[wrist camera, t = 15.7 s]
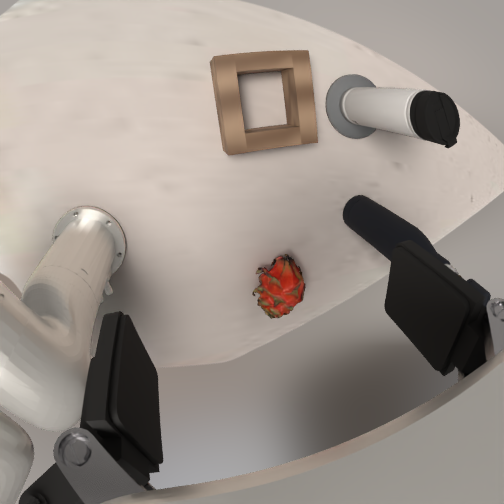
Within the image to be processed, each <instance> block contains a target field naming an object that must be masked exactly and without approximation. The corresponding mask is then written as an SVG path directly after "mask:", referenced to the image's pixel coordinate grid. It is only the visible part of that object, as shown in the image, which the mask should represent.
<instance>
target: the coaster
mask: <svg viewBox="0 0 504 504" xmlns="http://www.w3.org/2000/svg"><path fill="white" fill-rule="evenodd" d="M353 87H376V86H375V85H374V84H373V83H372V82H371V81H370V80H369V79H367V78H365V77H363V76H360V75H355V74H353V75H345V76H342V77H340V78H338V79H337V80H336V81H335V82H334V83H333V84H332V85H331V86H330V88H329V90H328V93H327V96H326V112H327V116H328V118H329V121H330V122H331V124H332V126H333V127H334V128H335V129H336V130H337V131H338V132H339V133H341V134H342V135H344V136H346V137H350V138H355V139H359V138H364V137H367V136H369V135H370V134H372V133H373V132H374V131H375V130H376V128H372V127H367V126H362V125H356V124H352V123H350V122H348V121H347V120H346V119H345V118H344V117H343V116H342V114H341V111H340V106H339V102H340V98H341V95H342V94H343V93H344V92H345V91H346V90H347V89H349V88H353Z"/></svg>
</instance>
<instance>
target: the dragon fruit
mask: <svg viewBox="0 0 504 504" xmlns="http://www.w3.org/2000/svg"><path fill="white" fill-rule="evenodd" d="M285 256H286V257H287V258H288V259H289V261H287V258H284V257H282V256H280V257H277V258H275V259H274V261H273V262H272V264H271V266H272V265H274V264H275V263H276V264H275V266H274V267H273V268H272V269H271V271H268V270H267V269H266V268H265V267H264V268H258V270H257V272H256V274H259V273H261V272H264V273H266V275H265V274H261V275H260V276H259V282H260V283H261V286H259V287H258V288H256V289H254V291H253V296H255V294H254V292H255V293H256V292H257V293H259V294H260V296H261V297H259V298H258V304H257V305H258V306H261V308H262V309H263V310H264V311H265V314H267V315H268V316H269V317H270V318H271V319H272V318H277V317H278V318H280V317H282V315H287V314H289V313H290V311H292V310H293V307H294V306H295V305H296V304H298V303H300V302H301V301H302V300H303V295H304V291H305V283H304V280H303V277H302V272H301V271H300V270H301V269H300V267H299V266H298V267H299V268H298V267H297V266H296V264H295V262H294V260H293V259H292V258H291V257H289V256H288V255H287V254H285ZM299 271H300V272H299Z"/></svg>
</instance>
